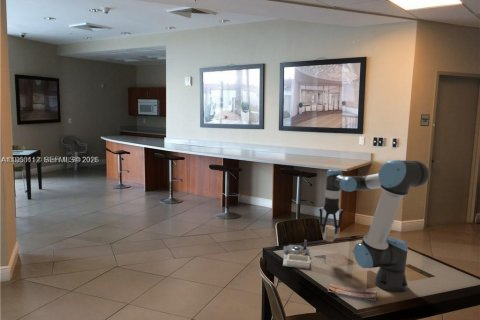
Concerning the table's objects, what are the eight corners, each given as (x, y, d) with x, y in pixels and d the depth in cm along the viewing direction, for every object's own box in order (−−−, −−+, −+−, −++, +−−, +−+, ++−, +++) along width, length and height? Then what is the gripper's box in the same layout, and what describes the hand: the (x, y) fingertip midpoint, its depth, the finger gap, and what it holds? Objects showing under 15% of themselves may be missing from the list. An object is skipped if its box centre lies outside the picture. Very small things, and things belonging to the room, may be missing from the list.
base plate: (309, 268, 202) (309, 263, 202) (282, 265, 204) (283, 260, 204) (307, 250, 232) (308, 245, 231) (284, 247, 234) (285, 243, 233)
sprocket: (314, 256, 219) (315, 244, 218) (290, 257, 214) (291, 245, 213) (301, 247, 234) (302, 235, 233) (278, 248, 228) (279, 237, 228)
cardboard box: (333, 241, 210) (334, 229, 210) (325, 241, 211) (326, 228, 210) (331, 238, 217) (332, 225, 217) (324, 237, 218) (325, 225, 217)
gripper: (347, 197, 214) (343, 238, 216) (316, 195, 217) (313, 235, 219) (348, 200, 207) (345, 242, 209) (316, 197, 209) (313, 239, 211)
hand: (328, 238), depth 214 cm, fingers closed on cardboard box, 4 cm apart
